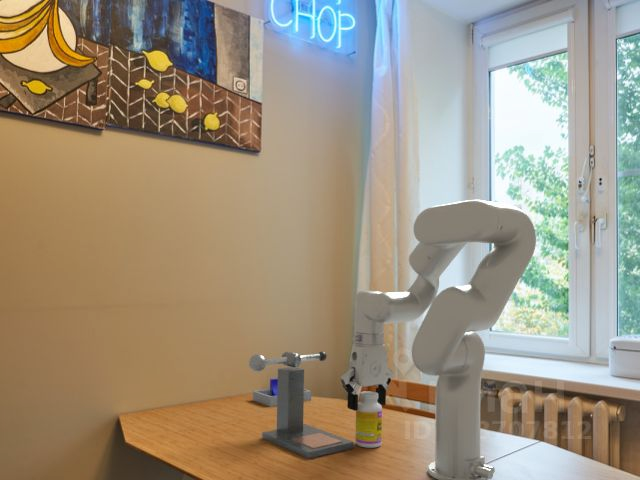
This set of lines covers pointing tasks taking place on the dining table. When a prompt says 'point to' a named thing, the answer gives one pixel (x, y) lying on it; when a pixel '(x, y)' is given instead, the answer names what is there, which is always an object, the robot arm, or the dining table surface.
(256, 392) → the tray
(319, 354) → the press lever
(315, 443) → the press frame
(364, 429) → the supplement bottle
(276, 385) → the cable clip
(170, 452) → the dining table surface
